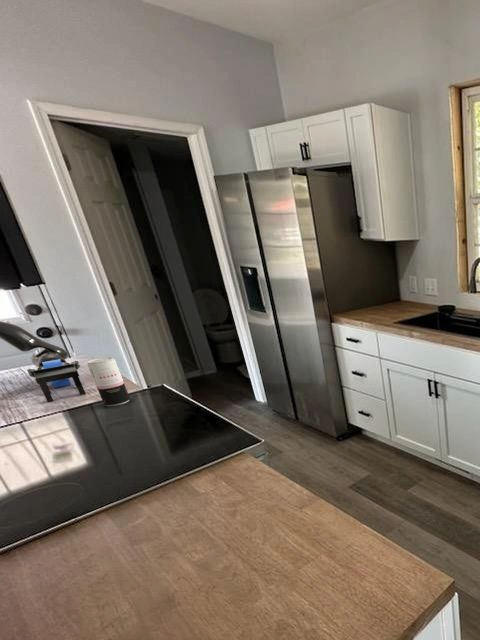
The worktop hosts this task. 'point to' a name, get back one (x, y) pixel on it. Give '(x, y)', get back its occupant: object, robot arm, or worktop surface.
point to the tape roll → (59, 382)
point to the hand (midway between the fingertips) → (56, 373)
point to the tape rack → (57, 378)
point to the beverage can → (108, 381)
